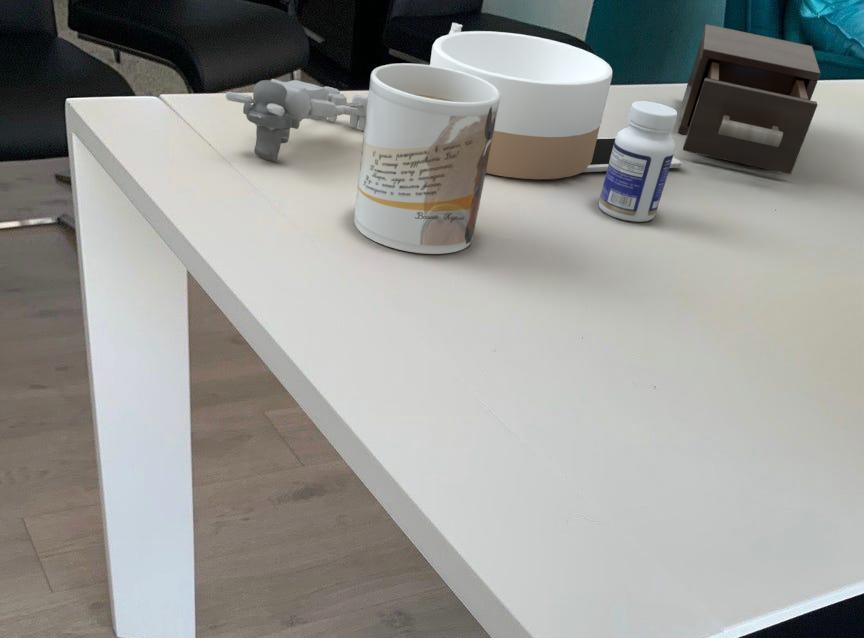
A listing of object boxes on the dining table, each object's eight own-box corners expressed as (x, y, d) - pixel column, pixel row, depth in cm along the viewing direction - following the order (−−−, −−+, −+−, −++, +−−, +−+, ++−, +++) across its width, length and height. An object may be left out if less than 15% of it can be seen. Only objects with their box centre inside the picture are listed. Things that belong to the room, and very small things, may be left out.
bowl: (579, 193, 95) (602, 96, 89) (401, 156, 97) (412, 59, 91) (601, 140, 107) (622, 52, 102) (443, 108, 110) (455, 20, 104)
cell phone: (681, 168, 105) (683, 162, 105) (556, 174, 98) (558, 168, 98) (634, 142, 110) (636, 136, 110) (512, 146, 103) (513, 140, 103)
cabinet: (788, 157, 115) (820, 73, 109) (677, 132, 116) (703, 48, 110) (783, 123, 126) (812, 46, 120) (682, 101, 127) (705, 24, 121)
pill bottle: (634, 200, 96) (664, 99, 90) (665, 223, 93) (698, 118, 87) (586, 201, 94) (614, 97, 89) (615, 223, 91) (646, 117, 85)
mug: (323, 212, 83) (338, 63, 76) (431, 194, 90) (454, 55, 83) (407, 263, 78) (431, 107, 71) (515, 240, 85) (548, 96, 77)
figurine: (307, 143, 104) (212, 150, 89) (318, 75, 100) (221, 70, 86) (372, 163, 102) (287, 173, 87) (385, 94, 99) (299, 93, 84)
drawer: (792, 186, 103) (820, 115, 99) (681, 162, 105) (703, 90, 100) (785, 140, 117) (809, 74, 112) (686, 118, 118) (706, 53, 113)
